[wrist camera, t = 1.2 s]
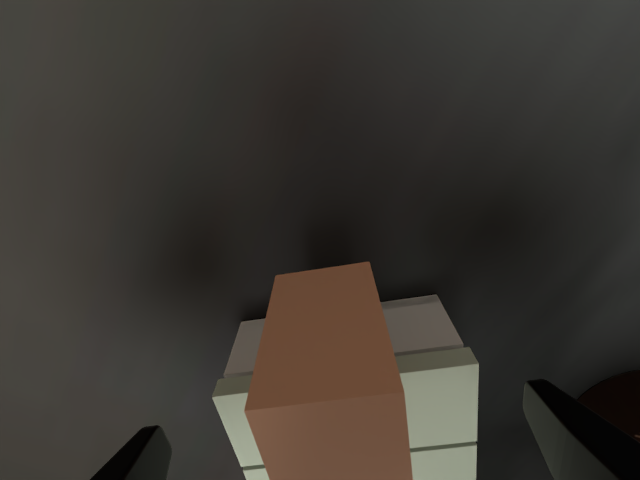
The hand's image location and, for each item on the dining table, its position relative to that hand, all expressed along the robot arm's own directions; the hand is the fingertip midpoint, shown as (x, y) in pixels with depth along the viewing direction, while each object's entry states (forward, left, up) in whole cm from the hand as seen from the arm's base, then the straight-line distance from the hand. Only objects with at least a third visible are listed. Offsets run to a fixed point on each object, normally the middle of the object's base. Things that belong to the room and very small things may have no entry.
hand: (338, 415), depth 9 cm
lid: (-6, 0, -4) cm, 7 cm away
